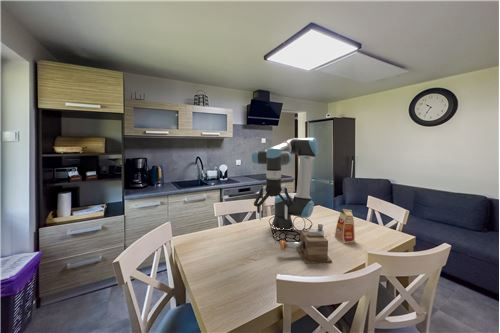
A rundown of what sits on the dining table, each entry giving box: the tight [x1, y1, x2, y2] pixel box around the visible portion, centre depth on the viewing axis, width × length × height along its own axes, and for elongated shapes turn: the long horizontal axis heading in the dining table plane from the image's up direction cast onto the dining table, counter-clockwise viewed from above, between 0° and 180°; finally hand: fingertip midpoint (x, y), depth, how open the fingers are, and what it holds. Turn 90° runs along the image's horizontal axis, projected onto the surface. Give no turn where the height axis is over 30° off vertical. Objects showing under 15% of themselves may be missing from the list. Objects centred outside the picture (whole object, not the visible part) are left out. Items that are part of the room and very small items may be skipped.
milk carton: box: [334, 208, 356, 244], centre depth 136 cm, size 9×9×20 cm
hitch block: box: [295, 229, 333, 265], centre depth 116 cm, size 16×14×11 cm
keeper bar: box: [306, 223, 325, 237], centre depth 116 cm, size 3×8×6 cm, turn 94°
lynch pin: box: [279, 239, 305, 252], centre depth 116 cm, size 5×16×5 cm, turn 94°
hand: (273, 218), depth 113 cm, fingers open, 13 cm apart
